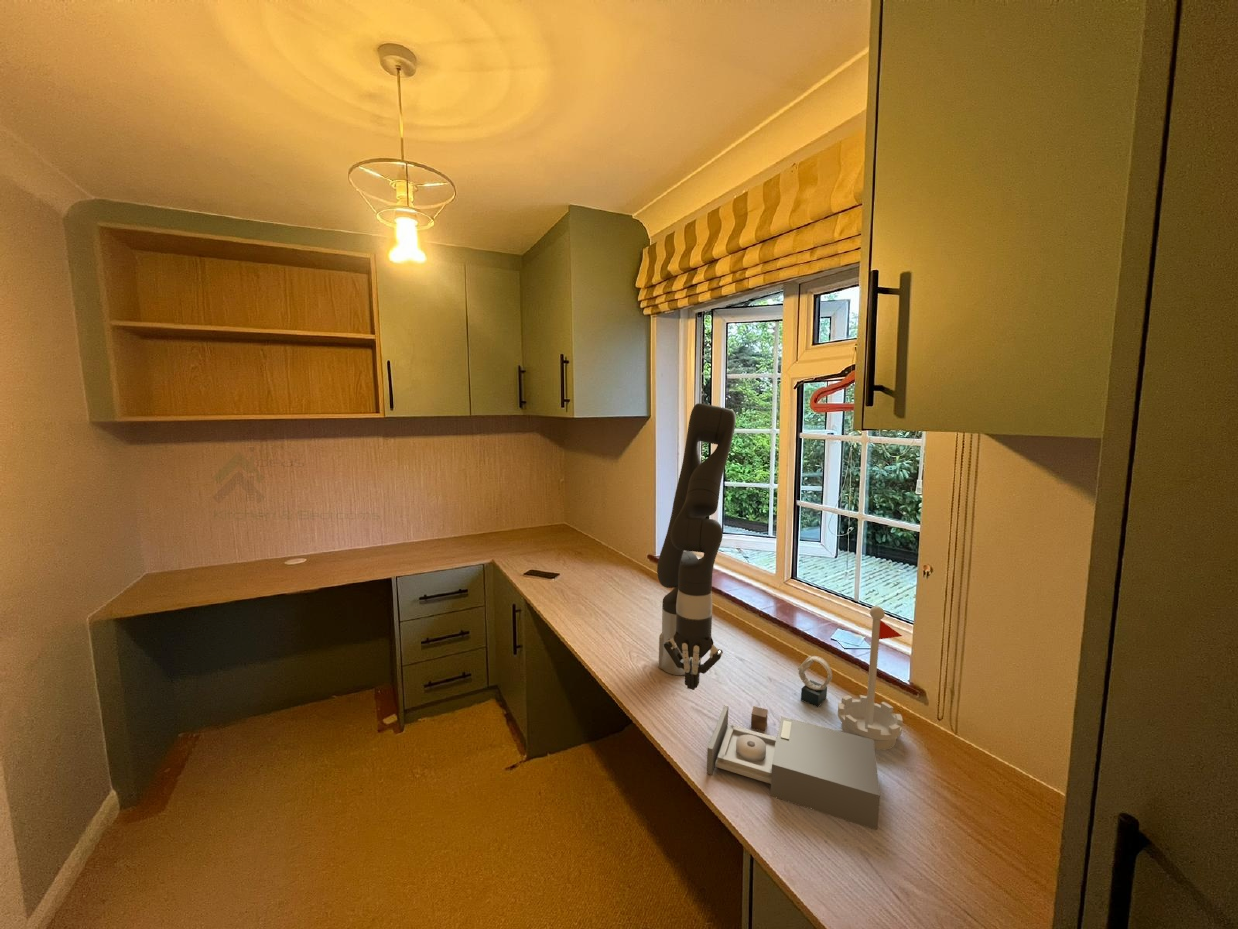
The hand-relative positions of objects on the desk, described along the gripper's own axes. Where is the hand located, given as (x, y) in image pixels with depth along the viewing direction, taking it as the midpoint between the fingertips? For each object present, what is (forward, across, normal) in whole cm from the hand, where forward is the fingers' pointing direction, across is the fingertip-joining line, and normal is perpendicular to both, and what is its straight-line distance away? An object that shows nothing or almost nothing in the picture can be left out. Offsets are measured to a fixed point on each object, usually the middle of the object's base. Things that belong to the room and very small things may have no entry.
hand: (691, 687), depth 106 cm
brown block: (+13, -13, -12) cm, 22 cm away
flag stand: (+13, -36, -20) cm, 43 cm away
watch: (+13, -24, -30) cm, 40 cm away
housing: (+13, -27, 0) cm, 30 cm away
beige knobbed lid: (+11, -13, 0) cm, 17 cm away
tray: (+13, -15, 0) cm, 19 cm away
